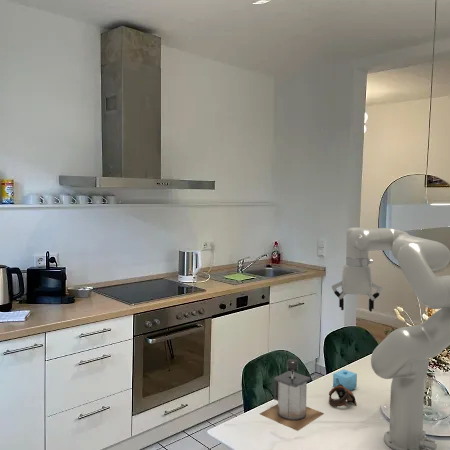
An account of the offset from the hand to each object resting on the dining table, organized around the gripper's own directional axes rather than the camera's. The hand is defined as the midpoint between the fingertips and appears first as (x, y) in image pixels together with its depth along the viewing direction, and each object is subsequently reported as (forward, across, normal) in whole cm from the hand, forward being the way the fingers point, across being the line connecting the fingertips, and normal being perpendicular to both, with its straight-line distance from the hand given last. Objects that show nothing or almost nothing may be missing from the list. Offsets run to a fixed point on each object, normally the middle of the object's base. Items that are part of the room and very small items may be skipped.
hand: (356, 310), depth 160 cm
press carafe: (+35, +23, +11) cm, 43 cm away
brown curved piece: (+36, +4, -1) cm, 36 cm away
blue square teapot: (+36, +3, -15) cm, 39 cm away
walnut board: (+36, +22, +11) cm, 44 cm away
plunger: (+32, +22, +11) cm, 41 cm away
